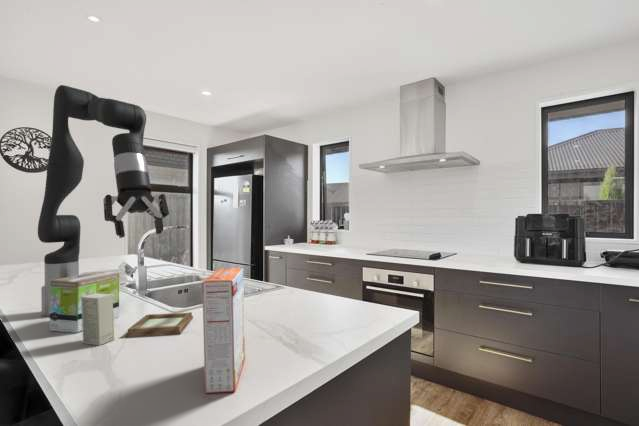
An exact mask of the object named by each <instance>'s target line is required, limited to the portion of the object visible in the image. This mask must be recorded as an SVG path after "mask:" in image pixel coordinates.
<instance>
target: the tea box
mask: <svg viewBox="0 0 639 426" xmlns="http://www.w3.org/2000/svg"><path fill="white" fill-rule="evenodd" d="M95 293H104V294H113V320H115V318H116V319H118V318H119V317H120V272H102V271H95V272H94V271H93V272H89V273H83V274H79V275H77V276H71V277H66V278H61V279H55V280H51V293H50V316H49V331H52V332H60V333H61V332H62V333H73V334H78V333H79V332H83V327H82V303H81V297H83V296H87V295H91V294H95Z"/></svg>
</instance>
